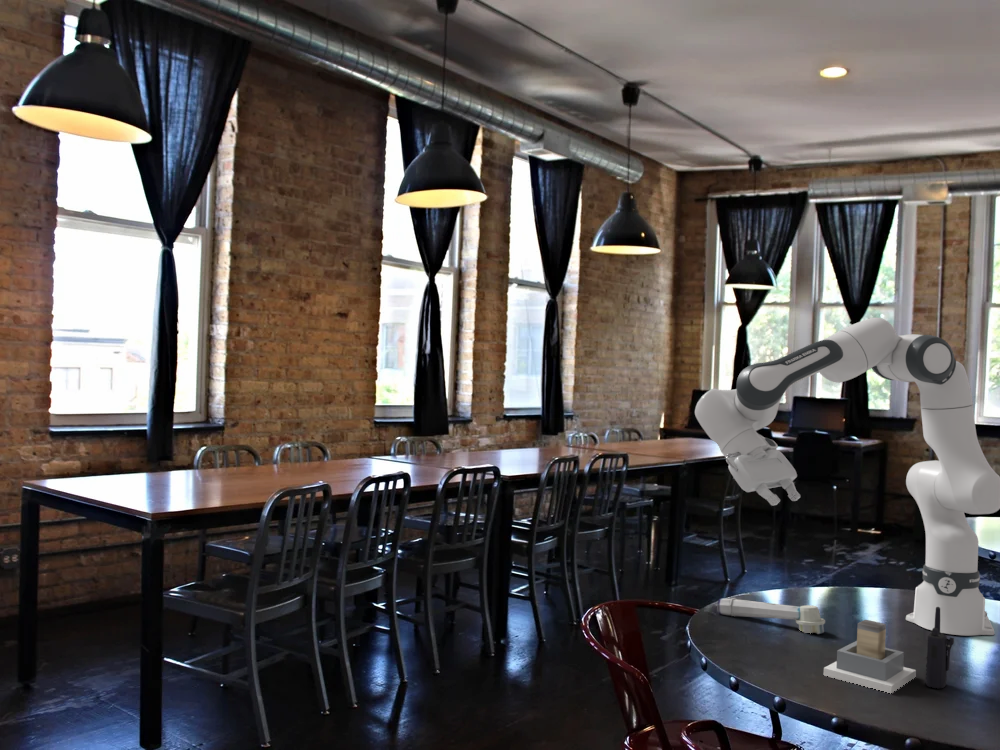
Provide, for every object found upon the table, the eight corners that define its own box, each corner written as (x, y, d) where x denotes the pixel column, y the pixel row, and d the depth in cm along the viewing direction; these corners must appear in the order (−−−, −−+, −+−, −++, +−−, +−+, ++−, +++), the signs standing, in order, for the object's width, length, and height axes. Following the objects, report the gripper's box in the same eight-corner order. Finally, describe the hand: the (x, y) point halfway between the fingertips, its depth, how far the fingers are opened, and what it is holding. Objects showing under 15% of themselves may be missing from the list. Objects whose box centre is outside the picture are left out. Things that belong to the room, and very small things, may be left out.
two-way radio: (928, 679, 174) (931, 603, 173) (954, 684, 171) (956, 607, 171) (923, 687, 169) (926, 609, 169) (949, 693, 167) (952, 614, 166)
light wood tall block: (864, 664, 177) (865, 619, 177) (884, 669, 174) (885, 623, 174) (856, 668, 174) (857, 623, 174) (876, 674, 172) (878, 628, 171)
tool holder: (850, 660, 184) (851, 636, 183) (915, 677, 175) (916, 652, 174) (823, 675, 174) (824, 650, 174) (890, 694, 165) (891, 667, 165)
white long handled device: (724, 595, 219) (825, 600, 204) (726, 622, 218) (828, 630, 203) (715, 599, 215) (818, 605, 199) (717, 627, 214) (821, 635, 199)
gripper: (732, 445, 187) (774, 496, 180) (777, 440, 201) (817, 488, 195) (713, 464, 190) (753, 515, 183) (759, 458, 204) (798, 505, 198)
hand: (787, 501), depth 189 cm, fingers open, 8 cm apart
